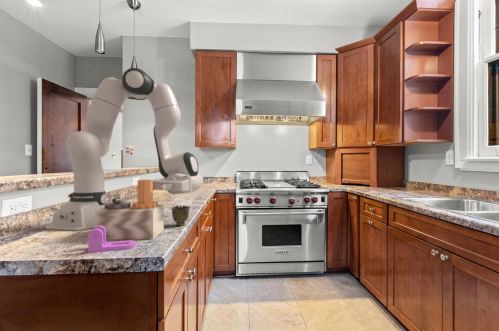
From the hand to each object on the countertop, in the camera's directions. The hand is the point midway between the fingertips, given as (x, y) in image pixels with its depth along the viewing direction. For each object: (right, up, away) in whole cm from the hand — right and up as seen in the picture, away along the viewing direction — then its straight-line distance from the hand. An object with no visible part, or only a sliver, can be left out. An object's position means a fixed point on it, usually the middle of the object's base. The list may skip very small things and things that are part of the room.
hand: (151, 186), depth 105 cm
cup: (+8, -18, +12) cm, 23 cm away
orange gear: (-2, -7, -3) cm, 8 cm away
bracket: (-5, -18, -19) cm, 27 cm away
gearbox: (-7, -17, -3) cm, 19 cm away
